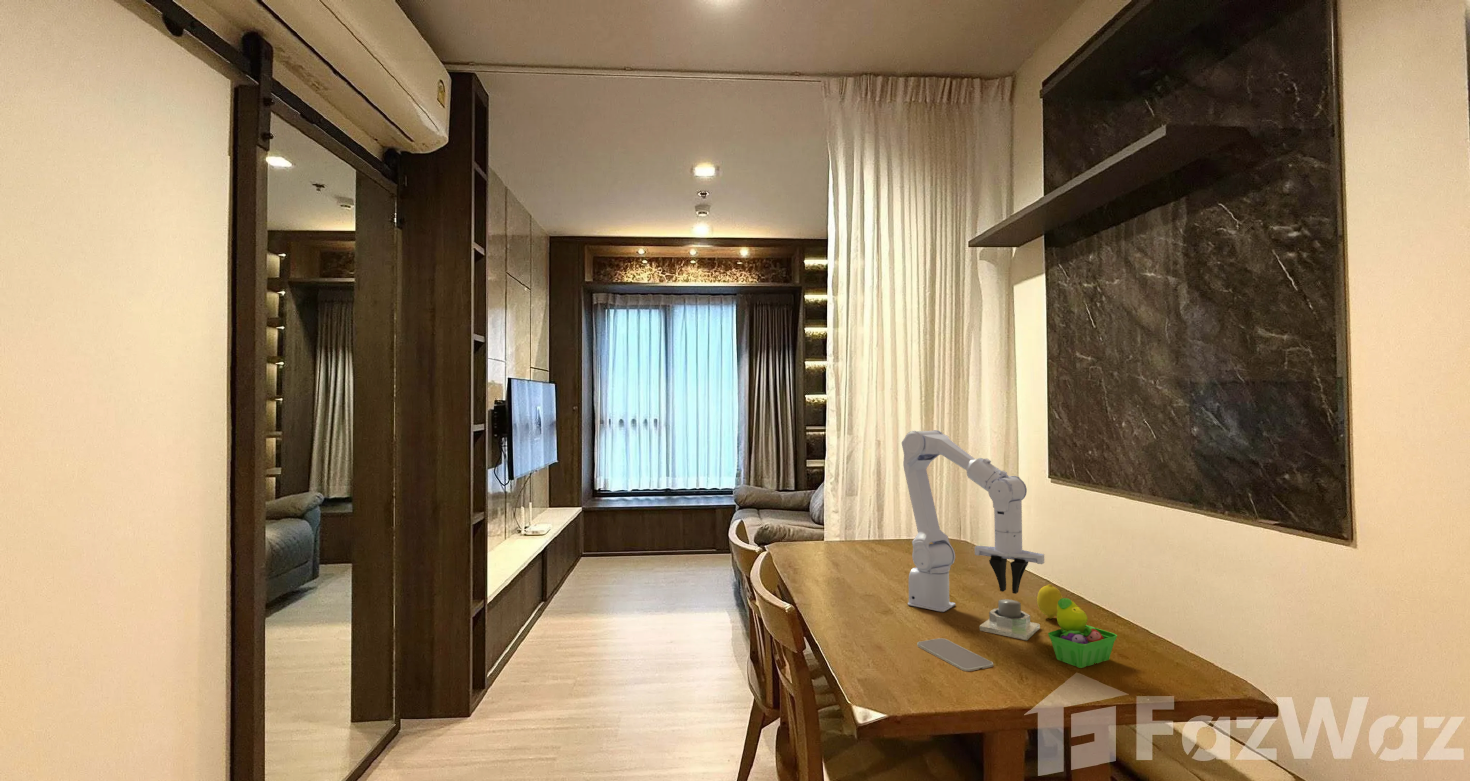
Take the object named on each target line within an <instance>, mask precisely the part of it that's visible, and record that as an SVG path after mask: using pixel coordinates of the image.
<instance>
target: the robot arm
mask: <svg viewBox="0 0 1470 781" xmlns="http://www.w3.org/2000/svg"><path fill="white" fill-rule="evenodd" d="M901 447H902V451H903V471H904V474H905V479H906V484H907V489H908V495H909V498H910V504H911V508H912V511H913V516H914V520H915V525H916V530H917V533H916V536H915V537H914V539H912V541H911V544H912V553H911V554H912V555H911V556H912V561H913V564H914V566H915V567H912V568H911V570H910V571H909V574H908V602H907V605H908V606H911V607H915V608H921V609H927V610H932V611H936V612H941V613H944V612H947V611H949V610H950V609H951V608H953V607H955V606H956V602H952V601H950V570H951V566H952V565H953V564H954V563H955V560H956V552H955V550H954V547H953V546H952V545H951V542H950V540H949V537H948V535H947V534H946V533H944V532H943V531H942V530H941V528H940V524H939V519H938V515H937V511H936V506H935V502H934V497H933V492H932V489H931V483H930V480H929V475H928V471H927V470H928V469H927V468H928V467H929V465H930V464H931V463H932V462H933V461H934V460H936V458H938V457H939V456H940V455H941V456H942V457H944V458H946V459H947V460H949V461H951V462H953V463H954V464H955V465H957V466H959V467H960V468H962V469H963V470H965V471H966V475H967V476H966V477H967V478H968V479H969V480H970V481H972V482H974V483H975V484H977V485H978V486H979V487H980V488H982V489H983V490H985V491H986V492H987V493H988V496H989V498H990V499H991V501H992V507H993V510H994V512H993V513H994V514H993V515H994V546H986V545H975V546H974V556H979V557H980V556H984V557H990V559H989V560H988V562H989V565H990V566H991V568H992V570H993V572H994V574H995V577H996V580H997V583H998V587H999V592H1005V591H1006V590H1007V576H1006V574H1007V561H1008V560H1011V562H1010V569H1011V577H1012V580H1011V584H1012V585H1011V593H1012V594H1018V593H1019V590H1020V583H1021V581H1022V578H1023V575H1024V573H1025V570H1026V568H1027V566H1028V565H1029V563H1035V564H1038V565H1043V564H1045V554H1044V553H1041V552H1040V553H1039V552H1033V551H1029V550H1024V549H1023V516H1022V514H1023V512H1022V511H1023V510H1022V507H1023V506H1022V505H1023V504H1022V501H1023V500H1024V499H1025V497H1026V496H1027V491H1028V489H1027V488H1028V487H1027V486H1026V483H1025V481H1023V480H1022V479H1021V477H1020V476H1017V475H1008V472H1007V471H1005V470H1001V469H999V468H998V467H996V466H995V465H993V464H992V461H991V460H990V459H989V458H982V457H979V458H974V457H973V456H972V455H971V454H970V453H968V452H967V451H965V450H964V449H963V448H961V447H960V446H959V445H958V444H956V443H955V442H954V441H953V440H951V438H950V437H949V436H948V435H947V434H944V433H943V432H942V431H940V430H938V429H936V430H921V431H920V430H919V431H917V430H911V431H909V432H907V433H906V435H905V436H904V438H903V439H902V441H901Z"/></svg>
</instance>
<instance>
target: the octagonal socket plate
mask: <svg viewBox="0 0 1470 781" xmlns="http://www.w3.org/2000/svg"><path fill="white" fill-rule="evenodd" d="M988 613H989V615H988V616H989V618H988V619H986V620H985V621H984V622H983V623H981V624H980V625H979V631H981V632H986V633H990V634H996V635H1000V636H1005V637H1009V638H1014V639H1018V640H1023V641H1028V640H1029V639H1030V638H1032V637H1033V635H1034V634H1036V632H1038V631H1039V630H1040V629H1041V624H1040V623H1038V622H1031V615H1030V614H1028V613H1027V612H1025V611H1023V610H1021V618H1008V617H1003V616H999V607H997V608H993V609H991V610H989V612H988Z"/></svg>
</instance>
